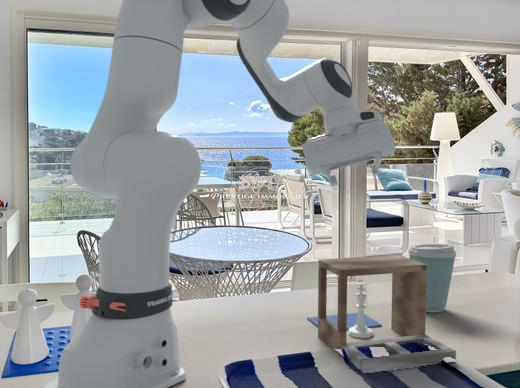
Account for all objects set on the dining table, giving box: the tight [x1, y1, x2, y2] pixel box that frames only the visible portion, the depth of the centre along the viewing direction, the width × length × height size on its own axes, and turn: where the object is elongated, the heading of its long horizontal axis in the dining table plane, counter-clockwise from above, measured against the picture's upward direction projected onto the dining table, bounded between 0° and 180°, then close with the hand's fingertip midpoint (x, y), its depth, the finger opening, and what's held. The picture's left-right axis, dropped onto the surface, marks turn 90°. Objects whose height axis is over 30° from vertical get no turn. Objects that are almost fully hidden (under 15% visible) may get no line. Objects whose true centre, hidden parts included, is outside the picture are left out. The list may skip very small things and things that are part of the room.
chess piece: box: [347, 283, 374, 339], centre depth 107 cm, size 5×5×10 cm
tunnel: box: [317, 254, 457, 375], centre depth 99 cm, size 19×17×15 cm
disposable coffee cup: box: [407, 243, 457, 313], centre depth 124 cm, size 11×11×15 cm
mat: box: [307, 312, 383, 331], centre depth 114 cm, size 9×13×1 cm
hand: (354, 179), depth 118 cm, fingers open, 8 cm apart
